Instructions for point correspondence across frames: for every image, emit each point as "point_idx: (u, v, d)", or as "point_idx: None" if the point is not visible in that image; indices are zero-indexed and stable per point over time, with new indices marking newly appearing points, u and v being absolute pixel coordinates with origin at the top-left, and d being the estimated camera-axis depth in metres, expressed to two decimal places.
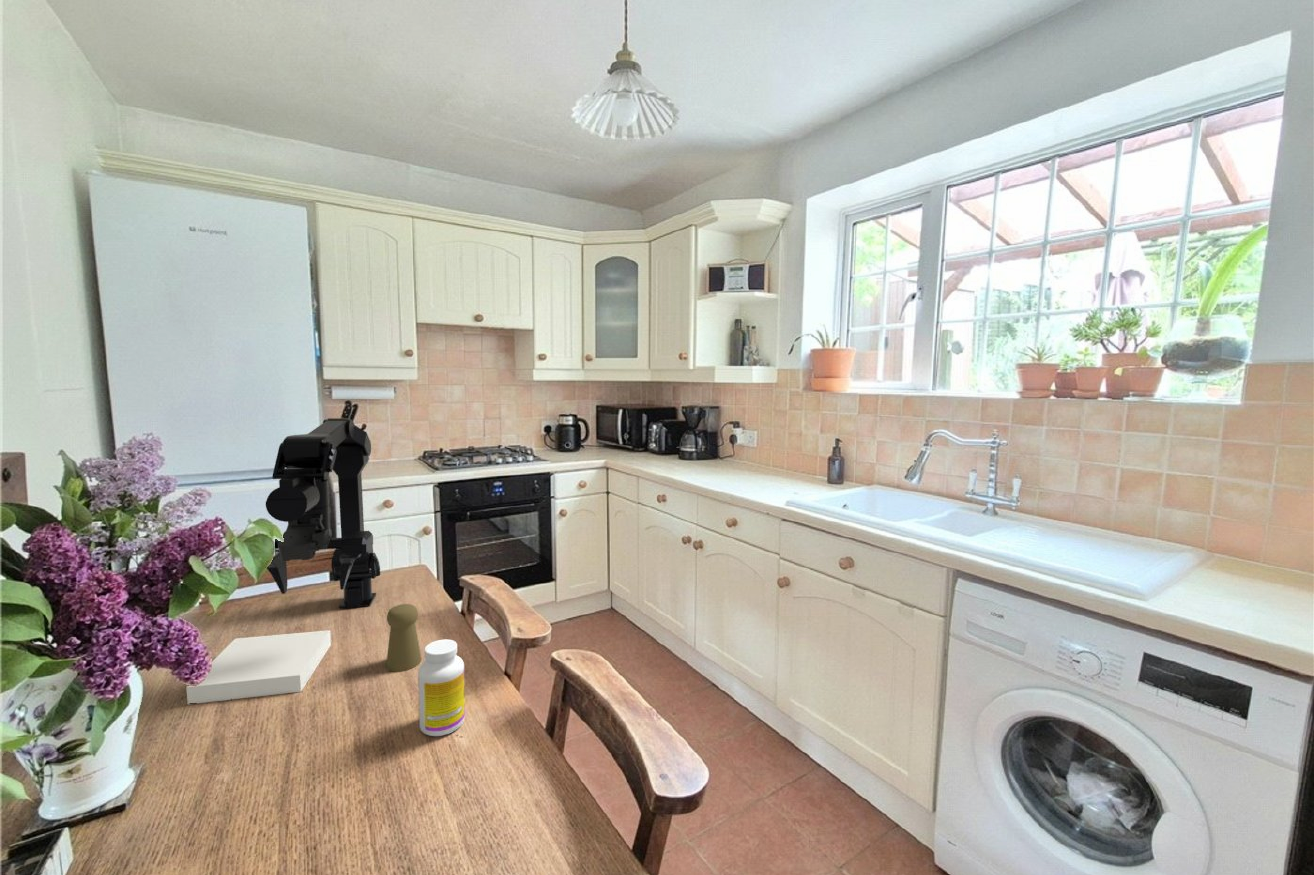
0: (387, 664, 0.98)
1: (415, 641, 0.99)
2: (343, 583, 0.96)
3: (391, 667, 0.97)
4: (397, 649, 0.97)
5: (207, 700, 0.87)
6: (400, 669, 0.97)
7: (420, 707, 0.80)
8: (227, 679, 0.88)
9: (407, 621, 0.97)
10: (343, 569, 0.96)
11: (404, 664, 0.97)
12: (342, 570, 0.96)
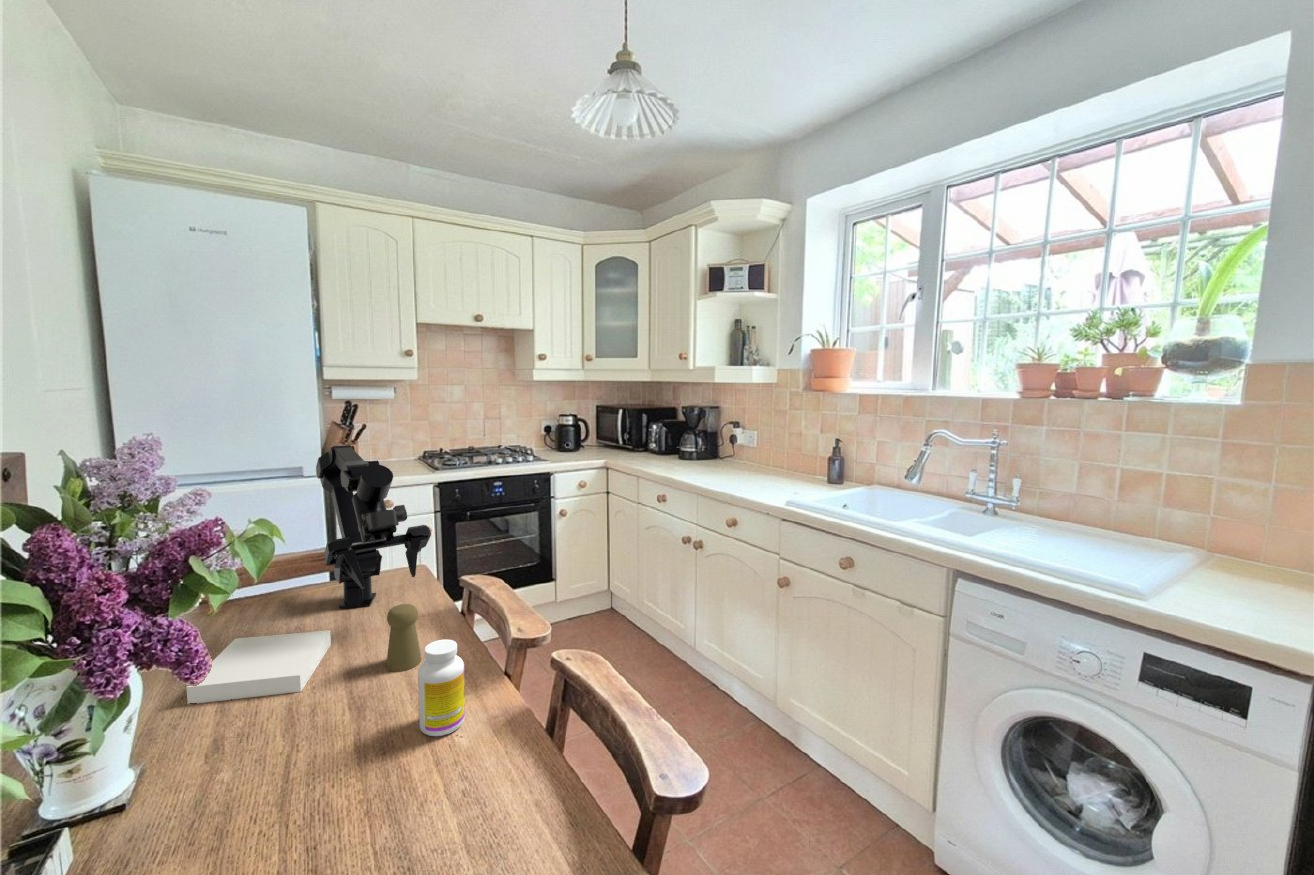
0: (387, 664, 0.98)
1: (415, 641, 0.99)
2: (415, 568, 1.07)
3: (391, 667, 0.97)
4: (397, 649, 0.97)
5: (207, 700, 0.87)
6: (400, 669, 0.97)
7: (420, 707, 0.80)
8: (227, 679, 0.88)
9: (407, 621, 0.97)
10: (413, 554, 1.08)
11: (404, 664, 0.97)
12: (412, 555, 1.08)
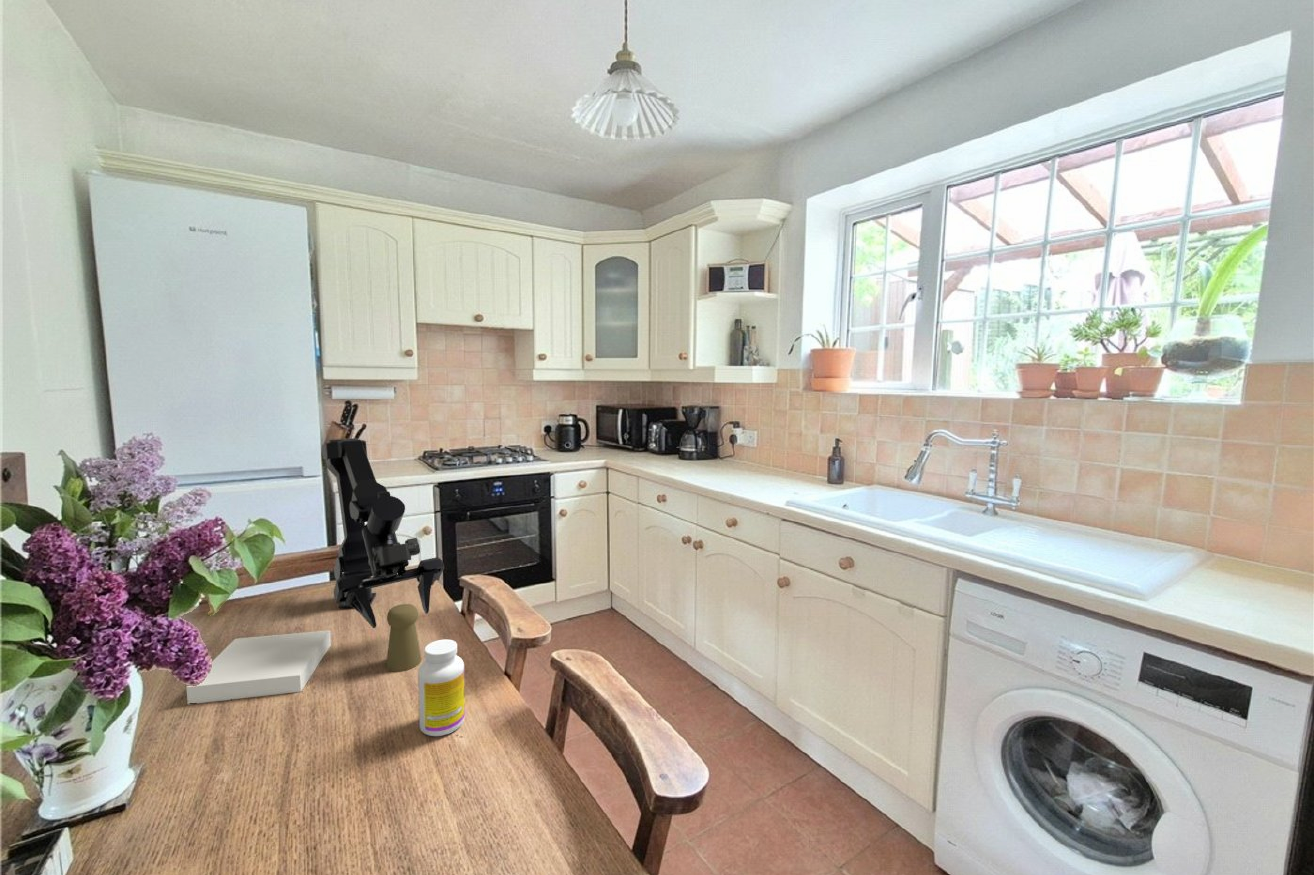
0: (387, 664, 0.98)
1: (415, 641, 0.99)
2: (428, 604, 1.03)
3: (391, 667, 0.97)
4: (397, 649, 0.97)
5: (207, 700, 0.87)
6: (400, 669, 0.97)
7: (420, 707, 0.80)
8: (227, 679, 0.88)
9: (407, 621, 0.97)
10: (426, 589, 1.04)
11: (404, 664, 0.97)
12: (425, 591, 1.04)
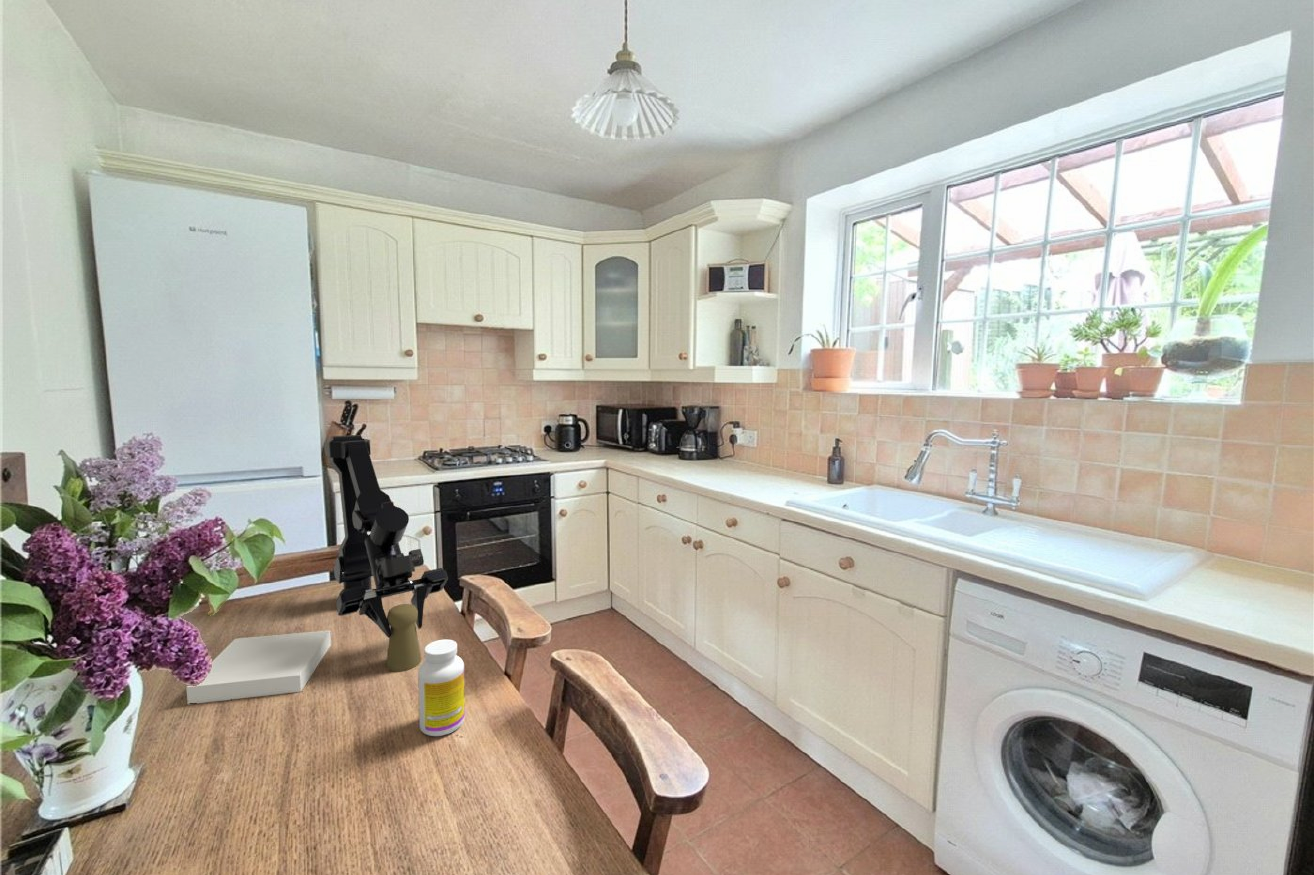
0: (387, 664, 0.98)
1: (415, 641, 0.99)
2: (421, 619, 1.00)
3: (391, 667, 0.97)
4: (397, 649, 0.97)
5: (207, 700, 0.87)
6: (400, 669, 0.97)
7: (420, 707, 0.80)
8: (227, 679, 0.88)
9: (407, 621, 0.97)
10: (419, 604, 1.01)
11: (404, 664, 0.97)
12: (418, 605, 1.01)
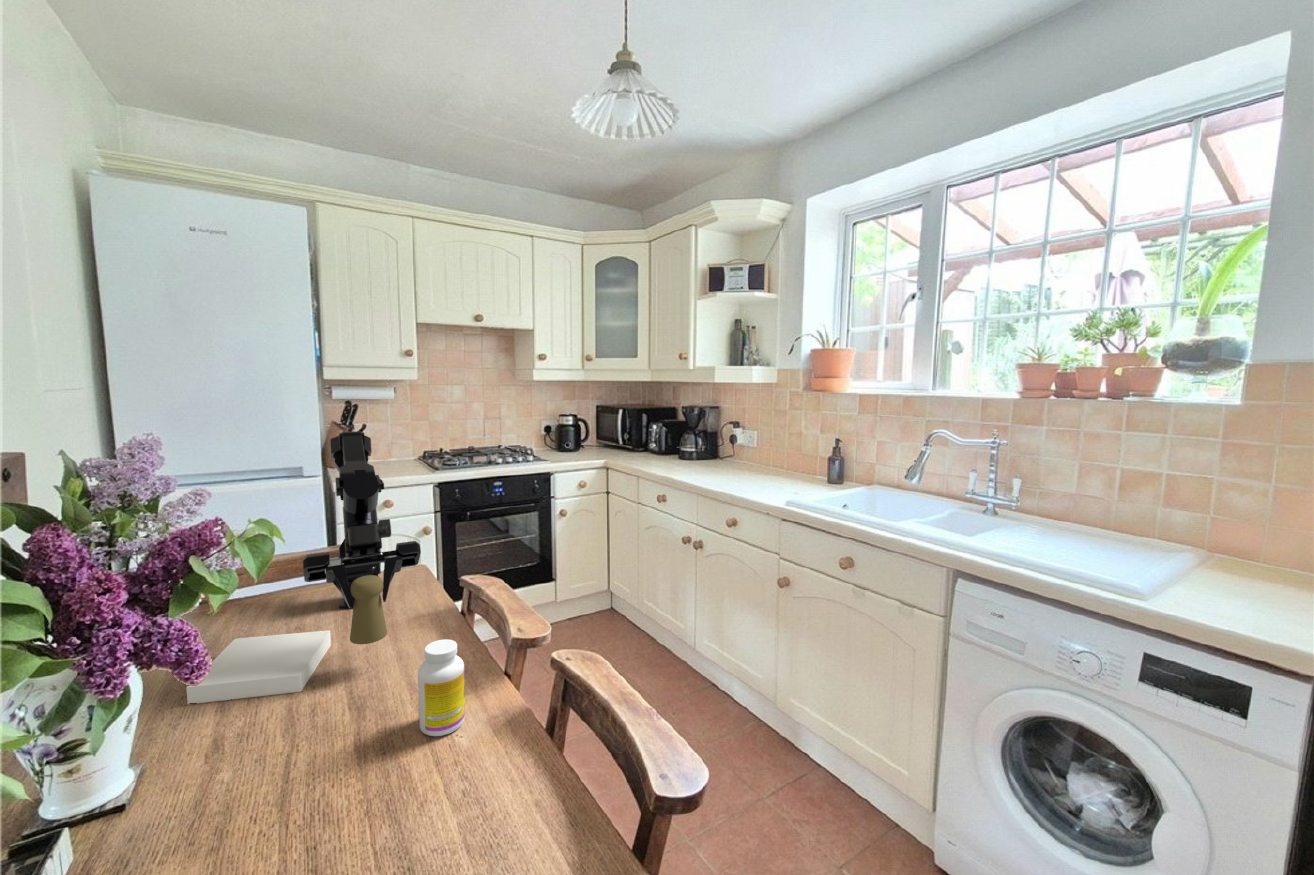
0: (350, 636, 0.95)
1: (379, 614, 0.95)
2: (386, 592, 0.96)
3: (353, 639, 0.94)
4: (359, 621, 0.93)
5: (207, 700, 0.87)
6: (361, 642, 0.93)
7: (420, 707, 0.80)
8: (227, 679, 0.88)
9: (368, 592, 0.93)
10: (386, 576, 0.97)
11: (364, 637, 0.93)
12: (385, 577, 0.97)
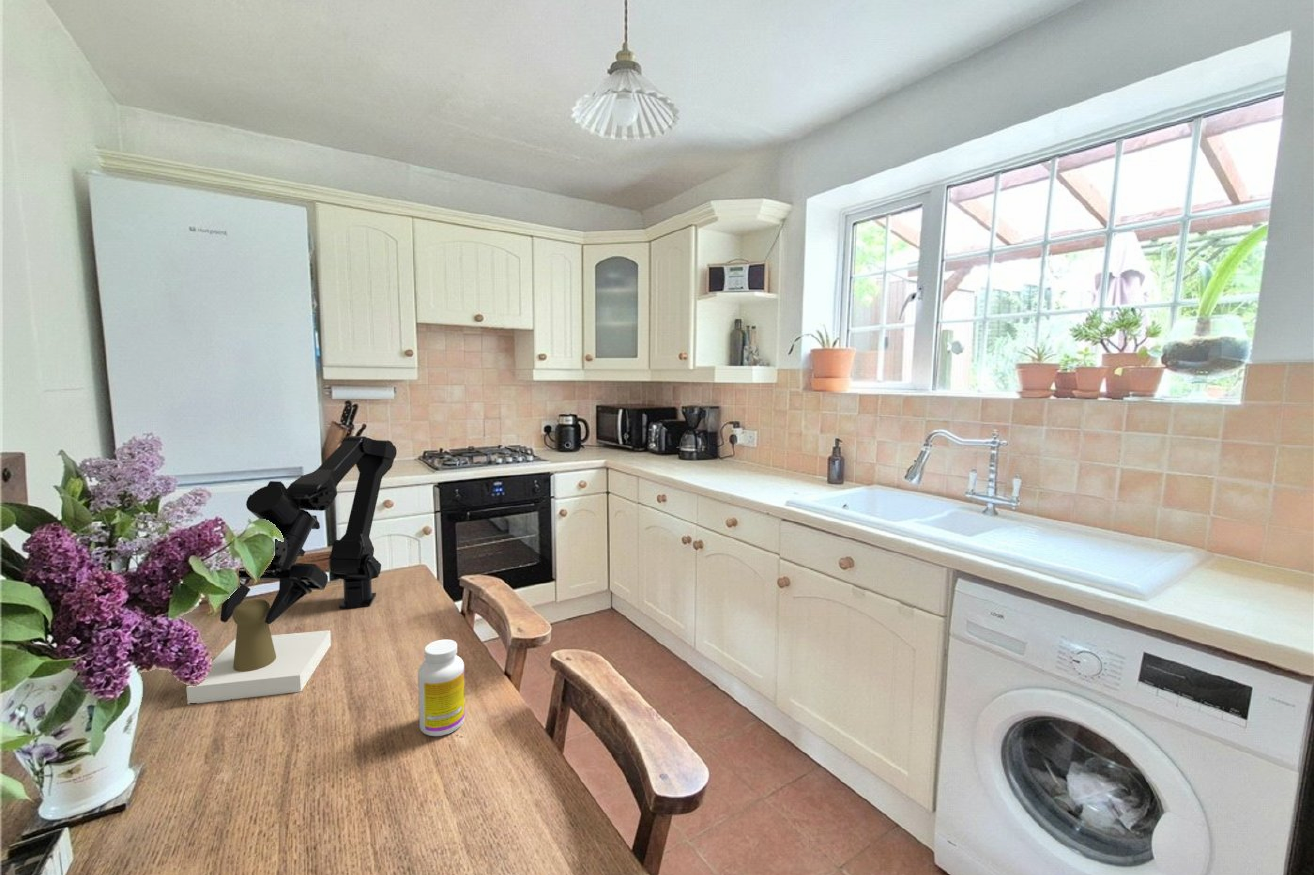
0: None
1: (254, 643, 0.91)
2: (270, 614, 0.91)
3: None
4: (235, 646, 0.91)
5: (207, 700, 0.87)
6: (235, 668, 0.91)
7: (420, 707, 0.80)
8: (227, 679, 0.88)
9: (239, 619, 0.89)
10: (278, 597, 0.92)
11: (237, 664, 0.90)
12: (276, 598, 0.92)
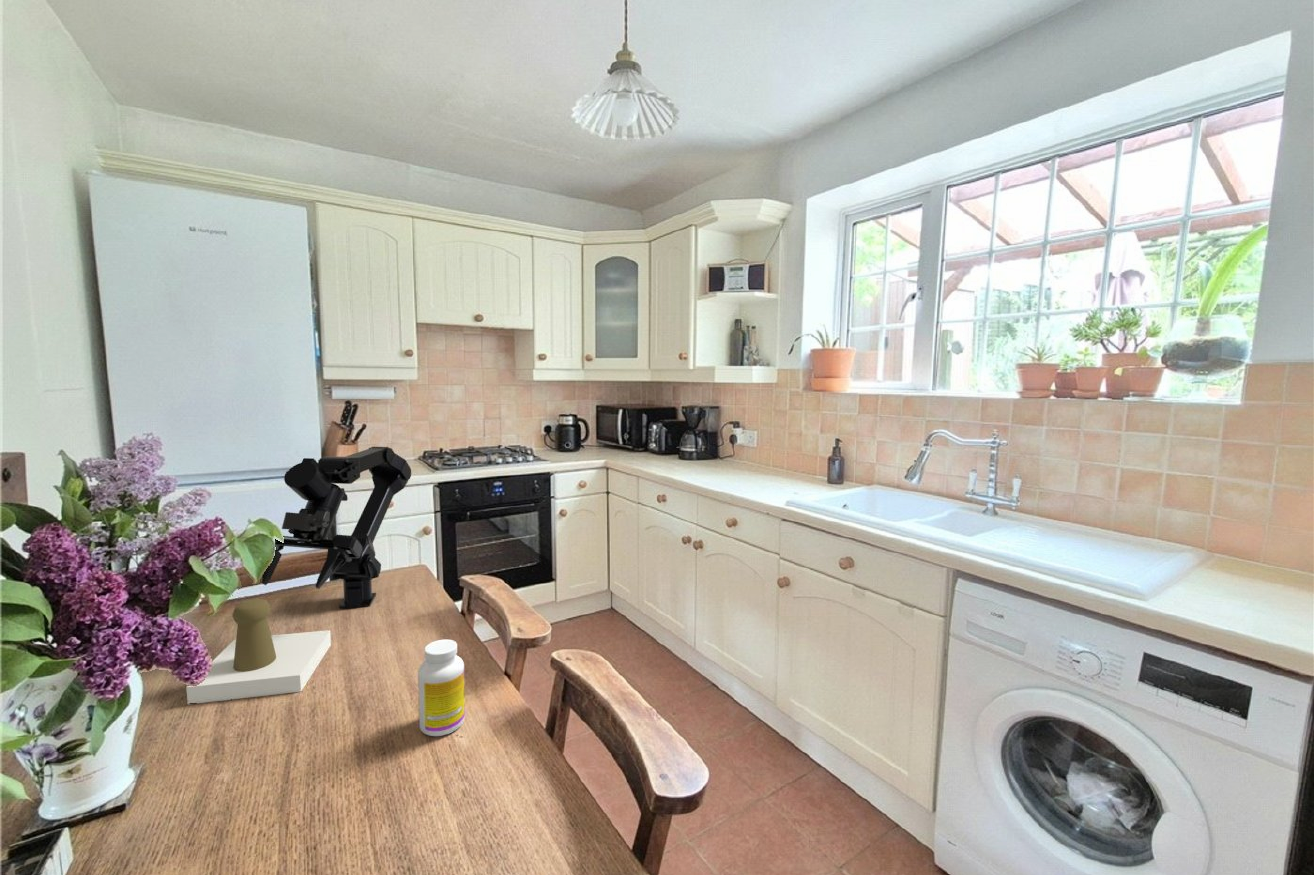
0: None
1: (254, 643, 0.91)
2: (320, 580, 1.01)
3: None
4: (236, 645, 0.91)
5: (207, 700, 0.87)
6: (235, 668, 0.91)
7: (420, 707, 0.80)
8: (227, 679, 0.88)
9: (240, 619, 0.90)
10: (326, 565, 1.02)
11: (237, 663, 0.90)
12: (325, 565, 1.02)
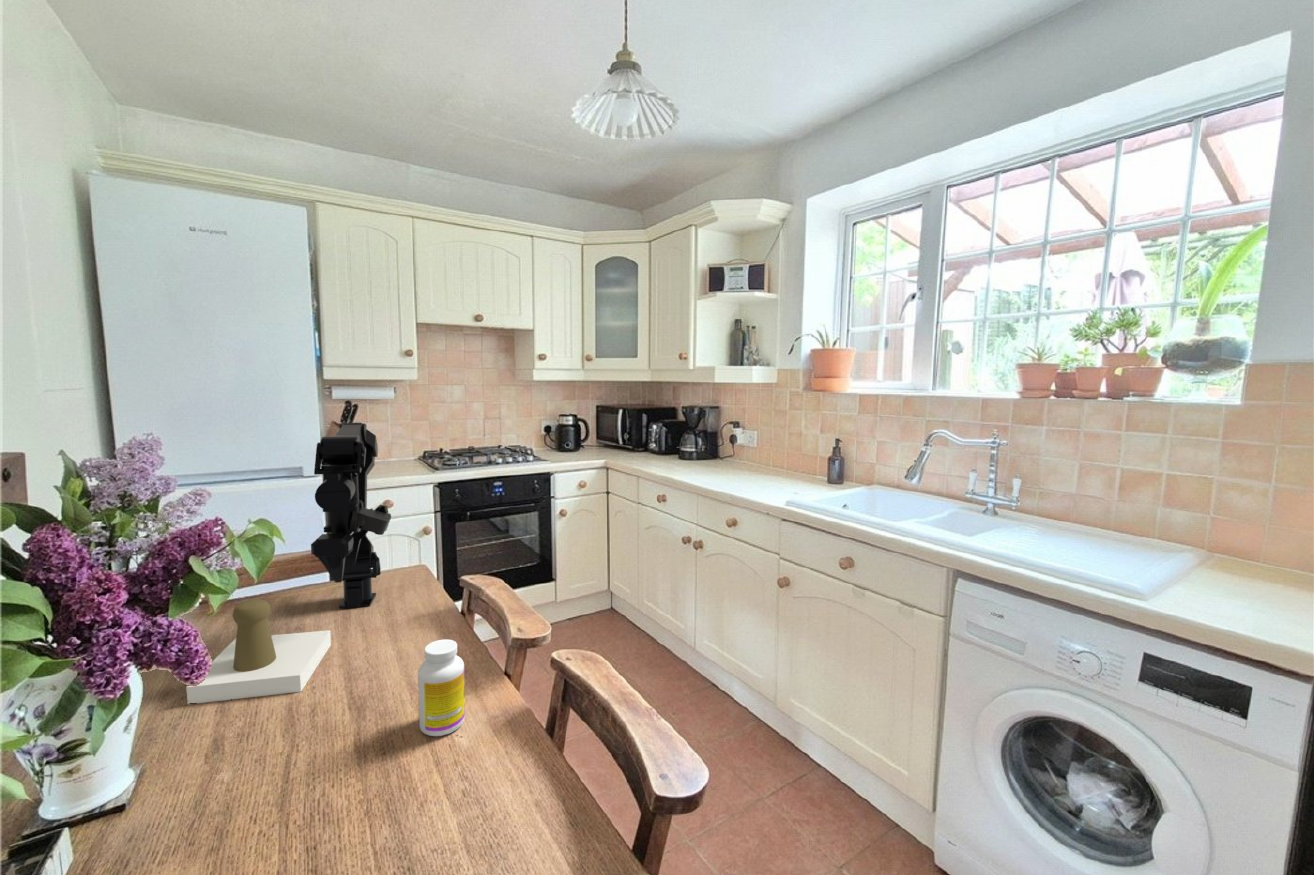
0: None
1: (254, 643, 0.91)
2: (356, 558, 1.13)
3: None
4: (236, 646, 0.91)
5: (207, 700, 0.87)
6: (235, 668, 0.91)
7: (420, 707, 0.80)
8: (227, 679, 0.88)
9: (240, 619, 0.89)
10: (358, 545, 1.13)
11: (237, 664, 0.90)
12: (358, 546, 1.13)
